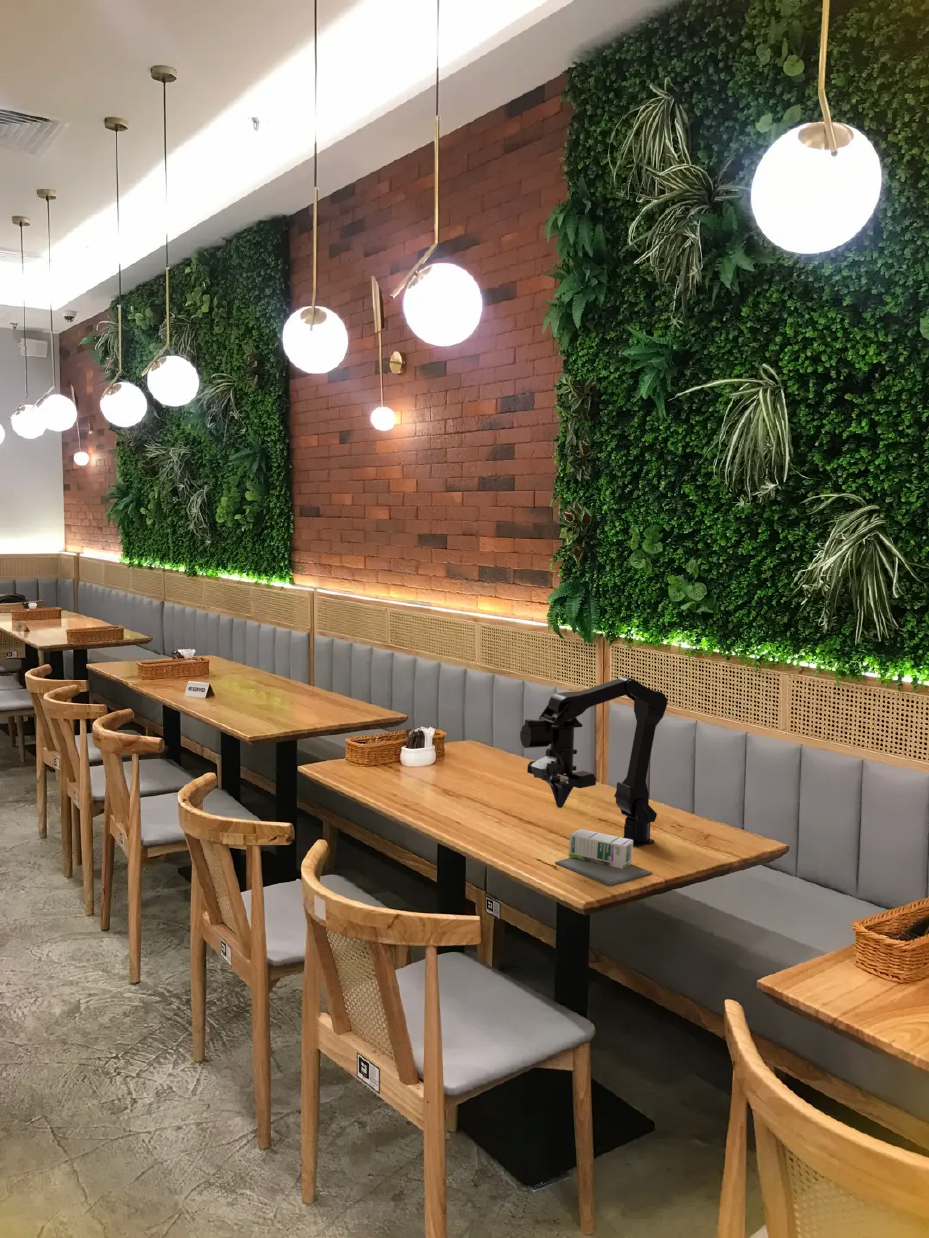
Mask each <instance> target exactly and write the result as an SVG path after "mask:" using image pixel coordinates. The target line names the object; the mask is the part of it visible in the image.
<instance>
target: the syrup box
mask: <svg viewBox="0 0 929 1238" xmlns="http://www.w3.org/2000/svg"><path fill="white" fill-rule="evenodd" d="M633 846H634V845H633V840H631V839H626V838H622V837H620V836H616V835H611V834H606V833H603V832H596V831H591V830H586V829H582V828H580V829H577V830H575V831H573V832H572V833H570V834H569V848H568V849H569V850H568V857H569V858H576V859H581V860H585V861H590V862H594V863H598V864H603V865H607V866H611V867H616V868H620V869H624V868H626V867H628V866H629V865H630V864H632V865H633V850H634V847H633Z"/></svg>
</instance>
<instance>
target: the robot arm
mask: <svg viewBox="0 0 929 1238" xmlns="http://www.w3.org/2000/svg"><path fill="white" fill-rule="evenodd" d="M623 696H626V697H628V698H629V699H630V700H632V701H633V713H634V717H635V719H636V720H635V721H636V723H635V724H636V726H635V731H634V734H633V735H634V736H633V742H632V747H631V751H630V759H629V763H628V768H627V773H626V777H625V779H623V781H622V782H621V781H617V782H616V790H615V794H614V796H613V798H615V804H616V806H617V808H619V810H620V813H621V815H623V816H625V819H624V827H623V836H622V837H621V838H626V839H631V840H633V846H635V847H642V846H646V845H648V844H652V843H655V839H653V838H651V823H655V822H656V819H657V816H658V814H657V812H656V811H655V810H654V809H653V808H652V807H651V806H650V805H649V803H650V801H649V800H650V792H649V789H648V788H649V787H648V786H647V785H648V784H647V777H648V776H647V775H648V771H649V767H650V760H651V755H652V749H653V744H654V739H655V734H656V733H655V732H656V729H657V726H658V724H659V723H660V722H661V720H662V719H663V718H664V716H665V713H666V710H667V706H668V698H667V697H666V695H665V693H664V692H661V691H658V690H656V689H655V690H654V689H650V688H649V687H647V686H645V685H643V684H641V682H638V681H637V680H636V679H635V678H632V677H628V676H625V675H624V676H623V675H622V676H619V677H618V678H617V679H614V680H611V681H607V682H605V683H601V684H597V685H596V686H593V687H589V688H586V689H584V690H580V691H564V692H557V693H554V694H552V695H551V696H550V699H549V701H548V703H547V705H546V707H545V708H544V710H543V711H542V713H541V714H540V715H539V717H538V719H531V718H528V719H527V718H526V719H525V720H524V724H523V725H522V727H521V729H520V732H519V733H520V734H519V736H520V737H519V738H520V743H521V745H522V747H523V748H524V749H532V748H533V749H534V748H546V747H549V746H550V747H549V748H546V750H545V755H544V756H543V757H541V758H538V759H536V760H531V761H529V763H528V764H527V771H526V773H527V774H531V775H533V778H535V779H541V780H542V781H544V782H546V783H547V784H548V785H549V787H550V789H551V791H552V795H553V797H554V801H555V804H556V807H557V808H558V809H562V808H564V805H565V803H566V802H567V799H568V797H569V795H570V793H571V792H572V790H573V789H574V788H576V789H584V788H588V787H589V788H590V787H595V786H597V776H596V775H595V774H594V773H592V772H589V771H585V770H582V771H581V770H580V771H577V766H576V765H574V755H578V749H575V742H574V741H575V729H576V728H582V727H583V726H584V725H583V724H582V723H581V722H580V721H579V720H578V718H577V717H579V716H581V715H583V714H584V713H585V712H586V711H587V710H588V709H590V708H592V707H594V706H598V705H601V704H603V703H606V702H609V701H613V700H616V699H617V698H620V697H623ZM573 771H576V772H573Z"/></svg>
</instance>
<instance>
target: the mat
mask: <svg viewBox="0 0 929 1238" xmlns="http://www.w3.org/2000/svg"><path fill="white" fill-rule="evenodd" d="M554 864H555V865H557V866H560V867H561V868H563V869H566V870H569V871H572V872H574V873H576V874H579V875H581V876H584V877H586V878H589V879H591V880H593V881H596V882H599V883H601V884H602V885H606V886H608V887H614V886H617V885H619V884H620V885H621V884H623V883H627V882H629V881H630V882H631V881H633V880H637V879H640V878H643V877H646V876H650V875H653V872H652V871H650V870H647V869H645V868H642V867H639V866H638V865H634V864H633V863H632V864H630V865H629V866H628V867H626V868H624V869H620V868H616V867H611V866H607V865H603V864H598V863H594V862H590V861H585V860H581V859H576V858H572V857H569V858H564V859H562V860H561V859H560V860H557V861H554Z"/></svg>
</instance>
